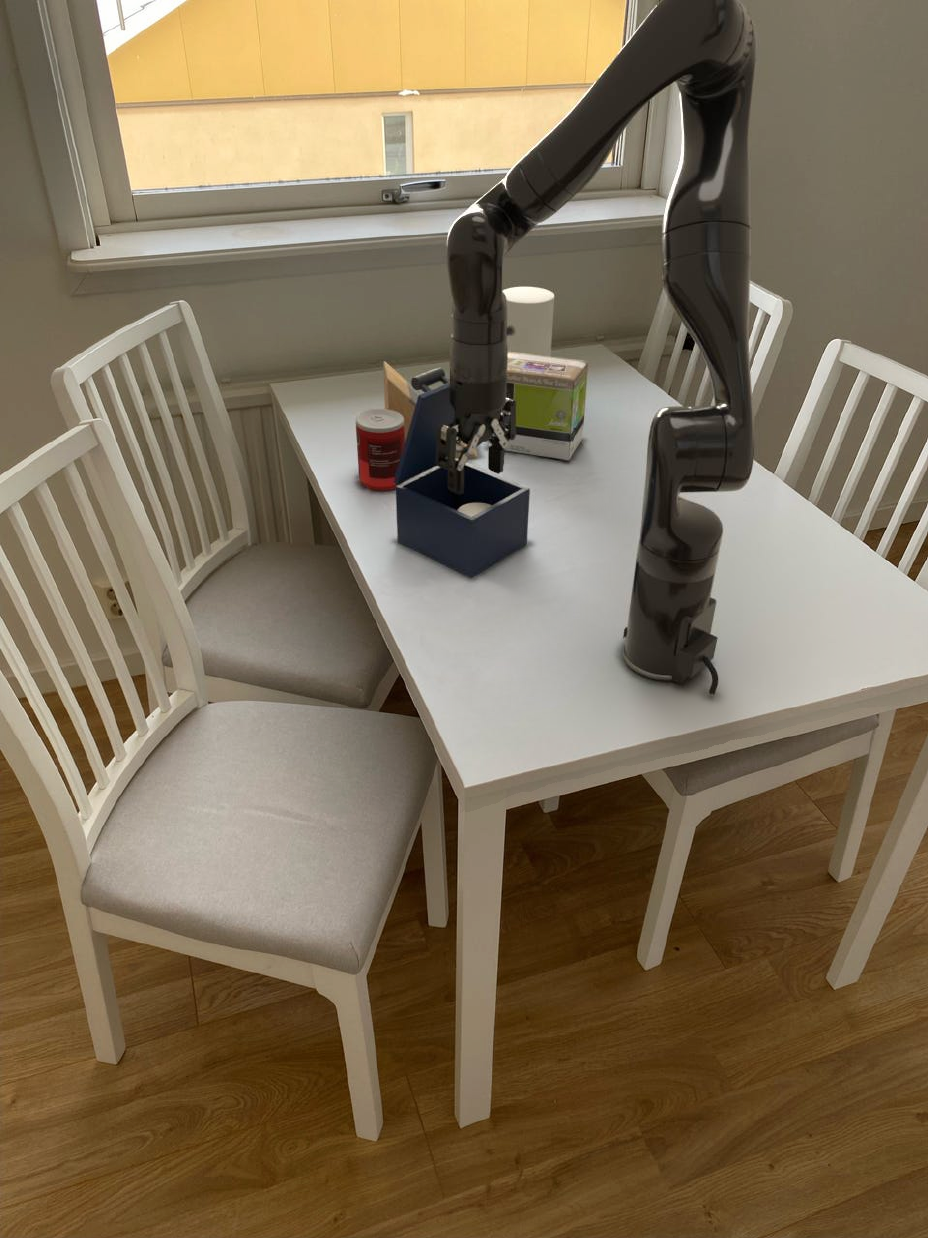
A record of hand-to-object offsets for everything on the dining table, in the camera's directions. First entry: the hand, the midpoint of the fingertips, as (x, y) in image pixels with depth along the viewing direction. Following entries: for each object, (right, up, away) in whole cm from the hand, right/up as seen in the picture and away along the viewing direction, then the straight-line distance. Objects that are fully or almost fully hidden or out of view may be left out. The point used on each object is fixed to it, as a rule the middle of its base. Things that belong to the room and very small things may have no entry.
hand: (476, 481), depth 135 cm
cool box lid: (-5, +7, +1) cm, 9 cm away
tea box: (+11, +12, +36) cm, 39 cm away
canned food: (-15, +3, +24) cm, 29 cm away
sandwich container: (-7, +10, +34) cm, 36 cm away
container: (+10, +24, +53) cm, 59 cm away
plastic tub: (0, -9, +6) cm, 11 cm away
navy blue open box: (-2, -8, +8) cm, 12 cm away
